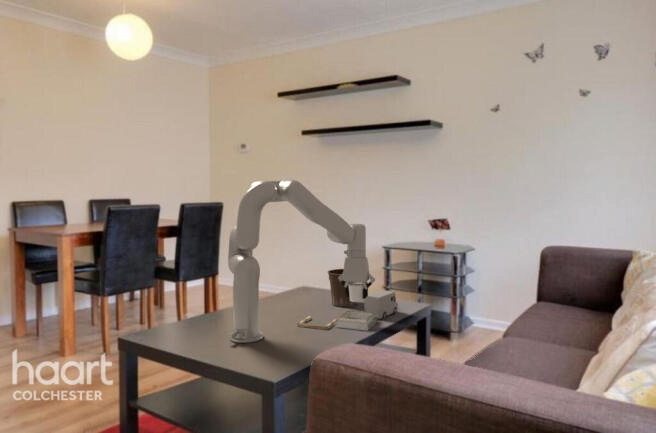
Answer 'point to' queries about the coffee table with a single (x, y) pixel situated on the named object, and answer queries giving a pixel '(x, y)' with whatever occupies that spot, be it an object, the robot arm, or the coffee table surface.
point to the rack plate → (356, 320)
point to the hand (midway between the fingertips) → (356, 296)
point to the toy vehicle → (381, 303)
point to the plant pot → (338, 290)
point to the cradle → (301, 324)
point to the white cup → (356, 292)
